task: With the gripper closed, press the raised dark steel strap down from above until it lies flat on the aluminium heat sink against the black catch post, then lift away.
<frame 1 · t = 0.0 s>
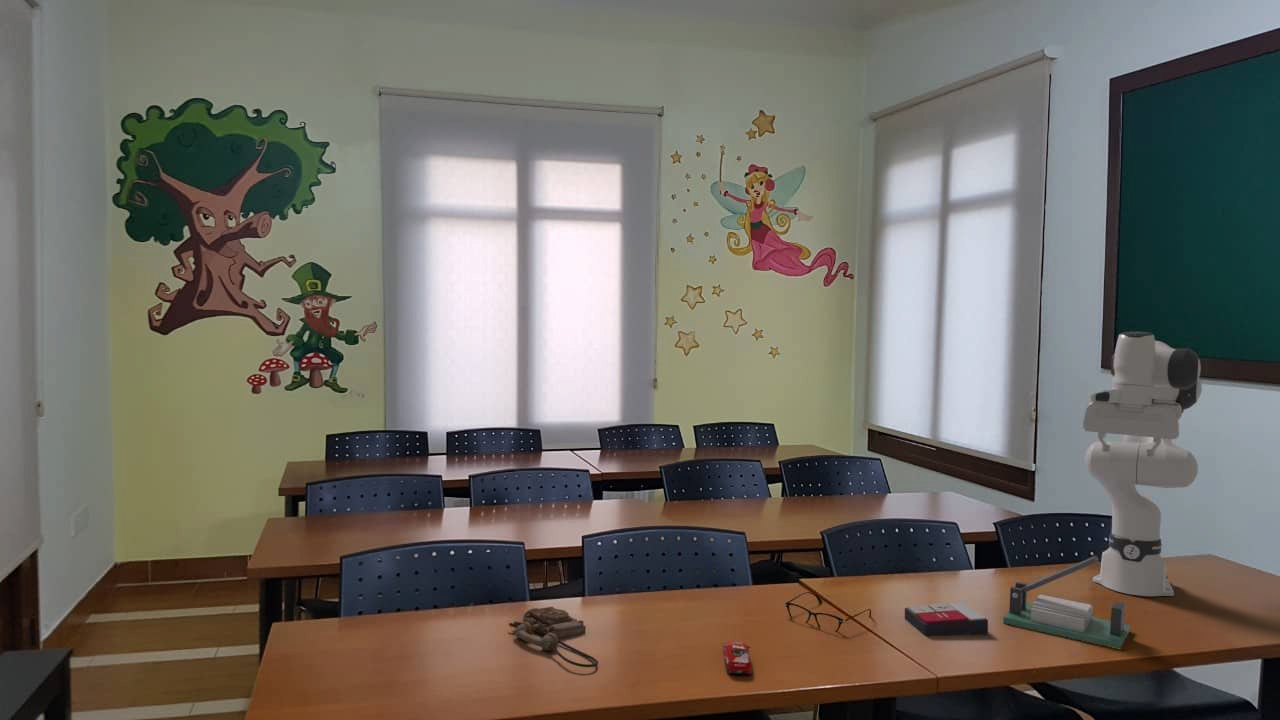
hand: (1127, 454, 205), 39 cm above the table, tool pointing down, fingers open, 8 cm apart
race car: (737, 665, 171), on the table
telephone: (556, 642, 181), on the table
eyeglasses: (829, 619, 199), on the table
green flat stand: (1065, 627, 195), on the table
black and red box: (945, 628, 194), on the table
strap: (1055, 576, 196), point 11 cm above the table, hinge at 35.0°
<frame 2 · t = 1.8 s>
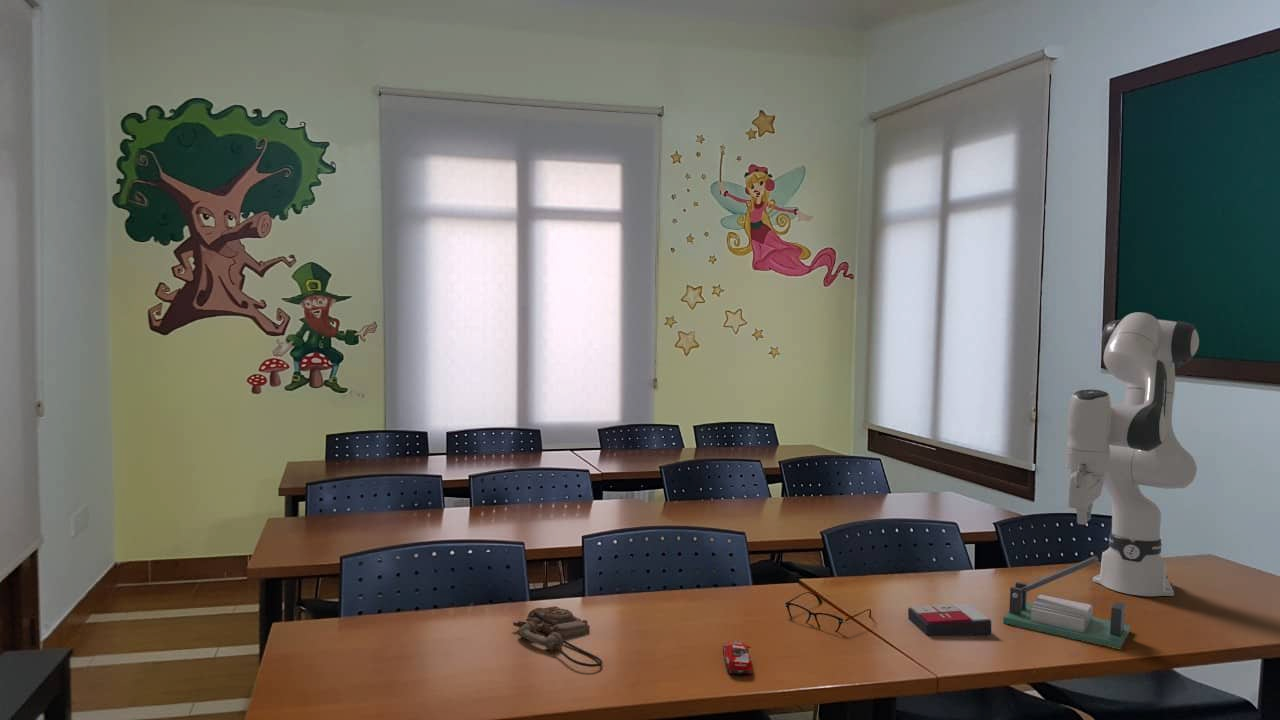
hand: (1083, 521, 193), 25 cm above the table, tool pointing down, fingers open, 3 cm apart
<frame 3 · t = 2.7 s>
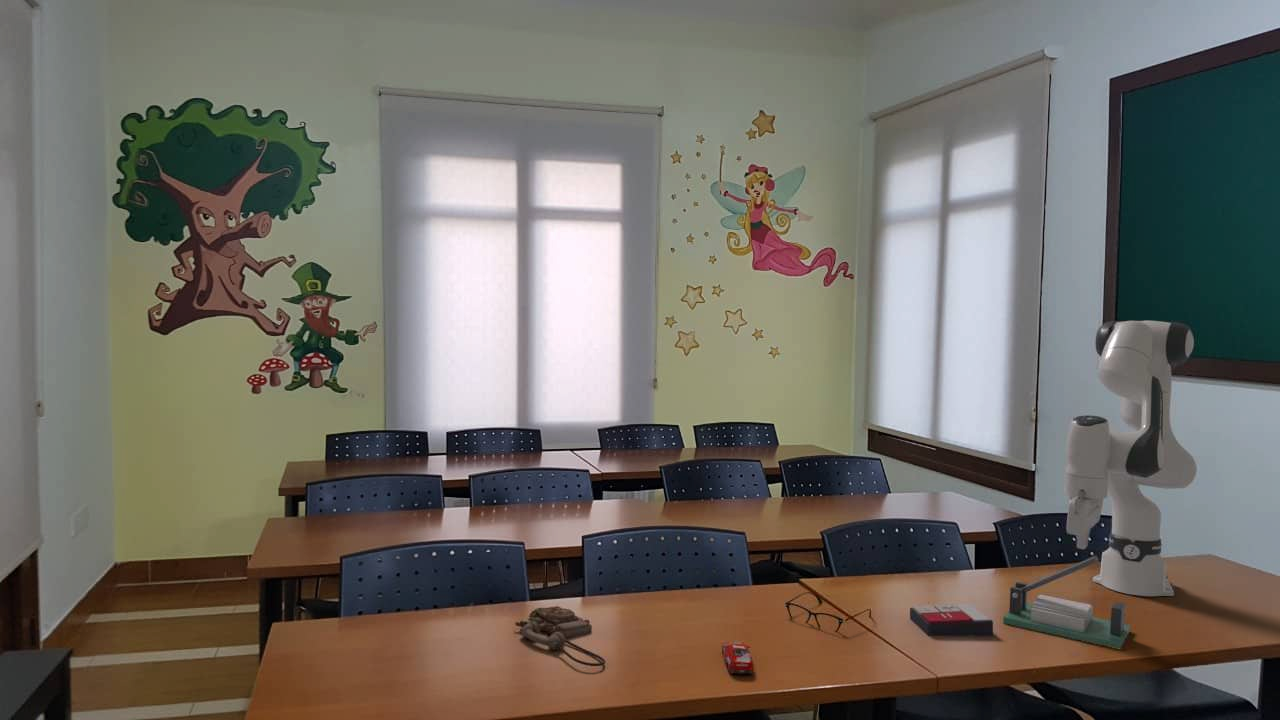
hand: (1082, 547, 193), 19 cm above the table, tool pointing down, fingers closed
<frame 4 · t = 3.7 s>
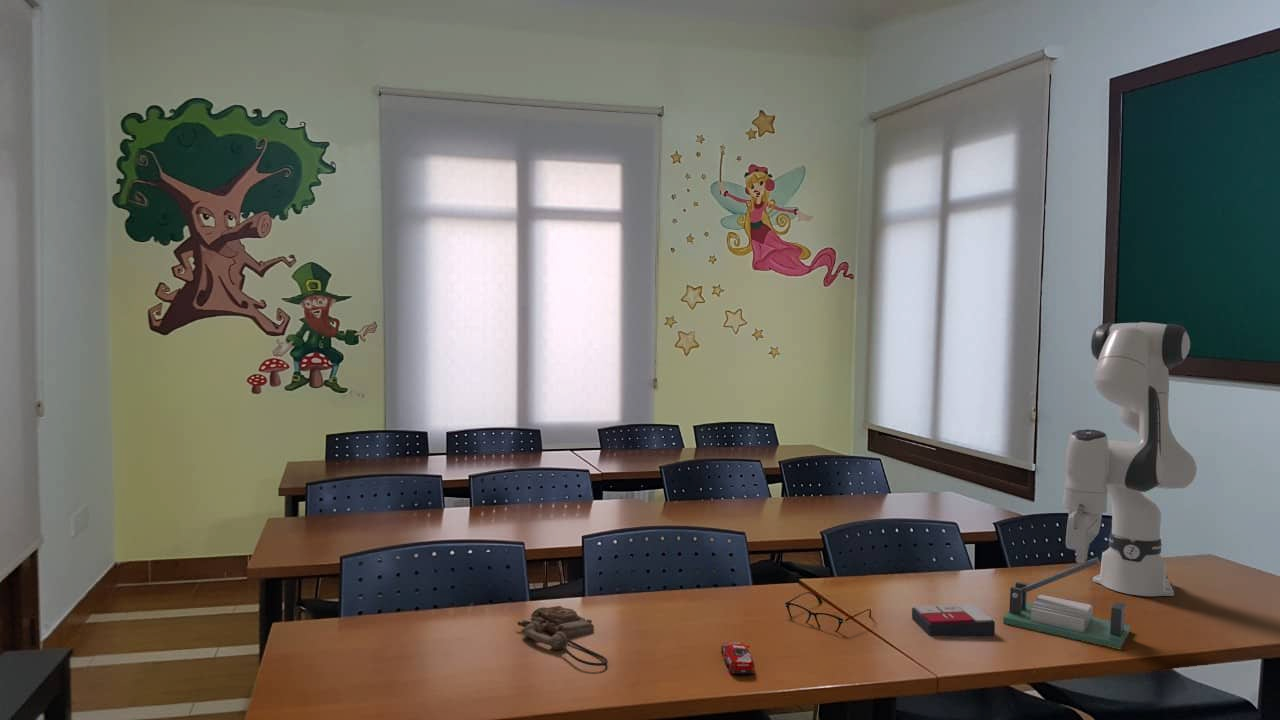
hand: (1081, 561, 193), 16 cm above the table, tool pointing down, fingers closed, pressing on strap
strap: (1056, 577, 196), point 11 cm above the table, hinge at 33.8°, touching gripper
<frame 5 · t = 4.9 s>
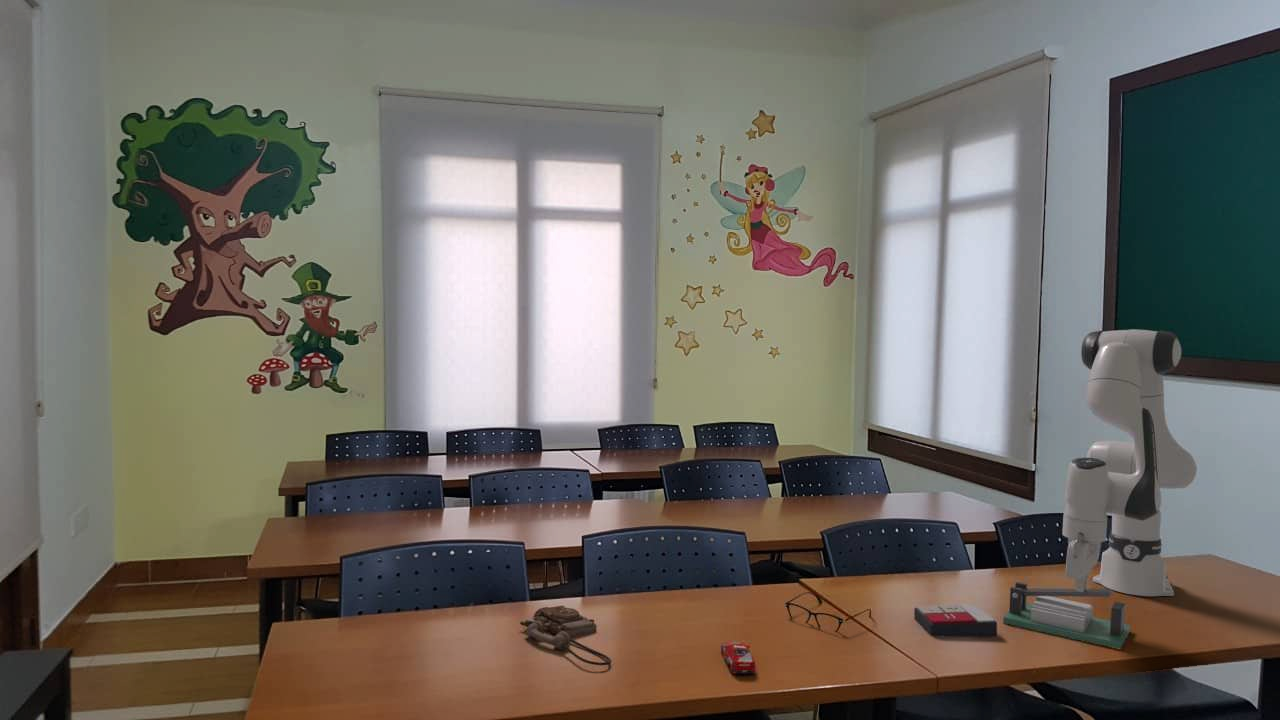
hand: (1080, 590, 193), 9 cm above the table, tool pointing down, fingers closed, pressing on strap
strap: (1061, 592, 196), point 8 cm above the table, hinge at 11.8°, touching gripper
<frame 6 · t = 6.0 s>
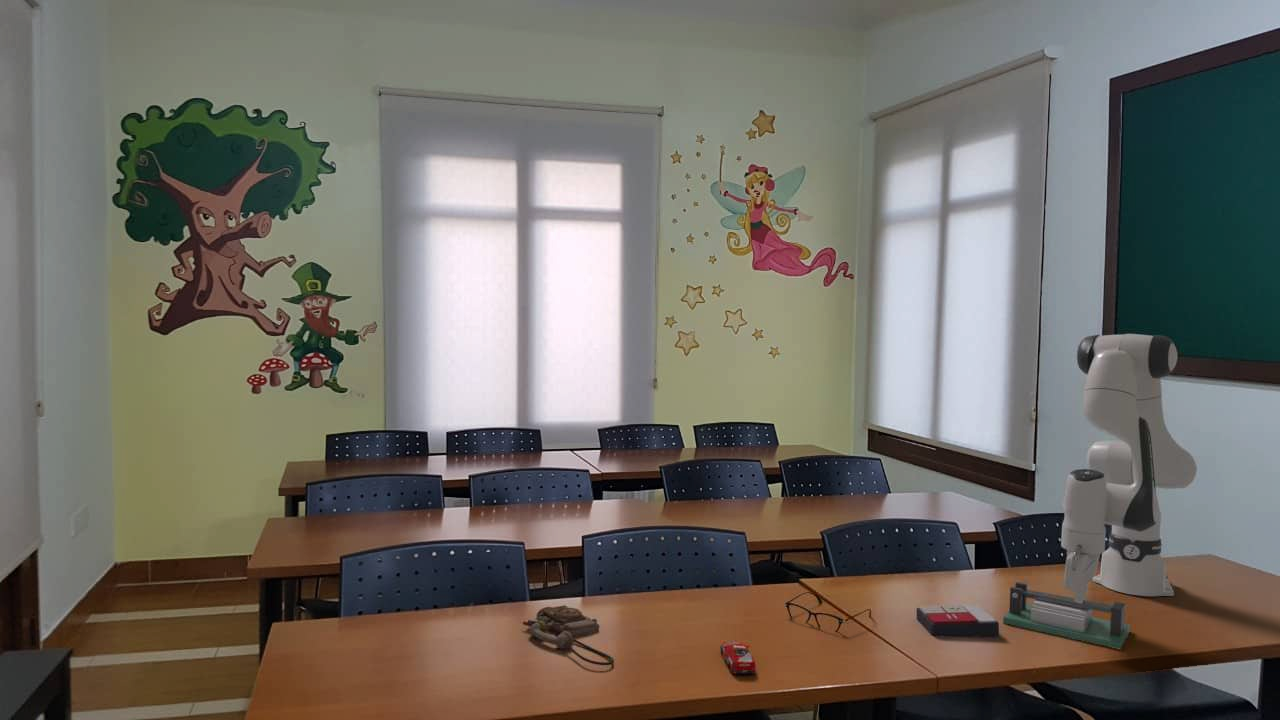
hand: (1079, 601, 193), 7 cm above the table, tool pointing down, fingers closed, pressing on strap
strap: (1062, 600, 196), point 6 cm above the table, hinge at 1.2°, touching gripper
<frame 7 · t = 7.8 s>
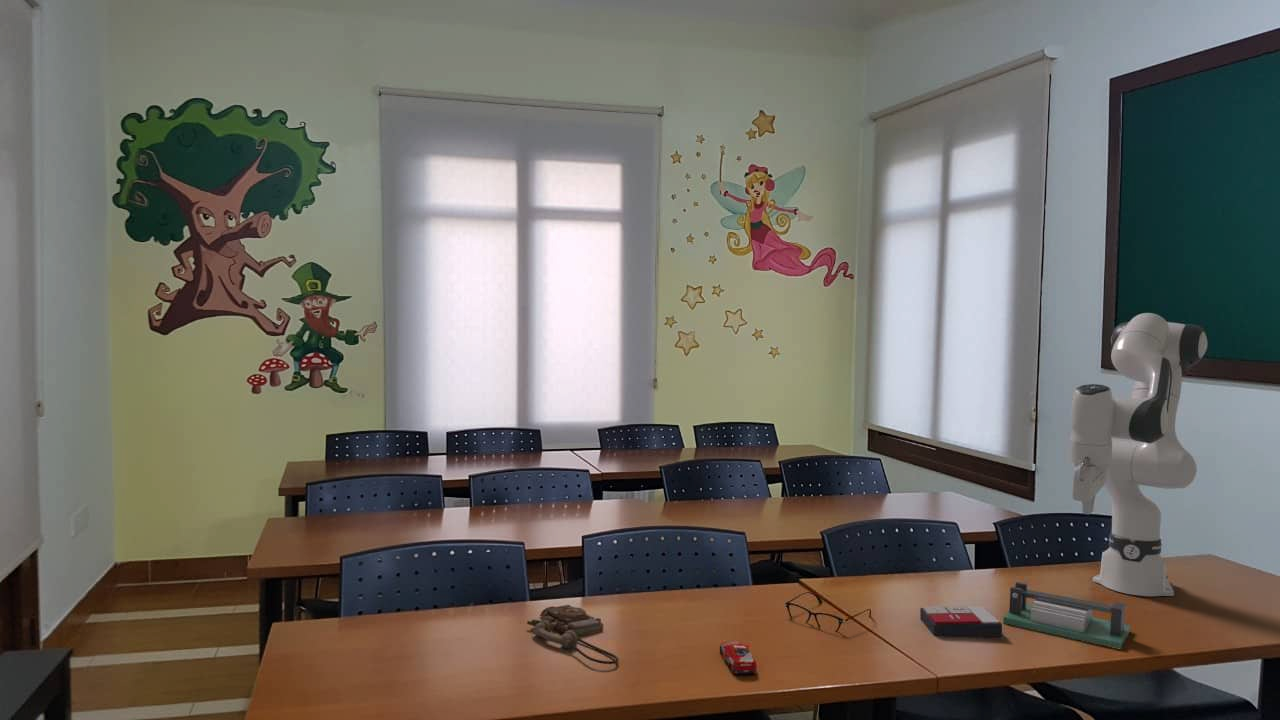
hand: (1087, 512, 198), 26 cm above the table, tool pointing down, fingers closed
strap: (1062, 600, 196), point 6 cm above the table, hinge at 1.2°
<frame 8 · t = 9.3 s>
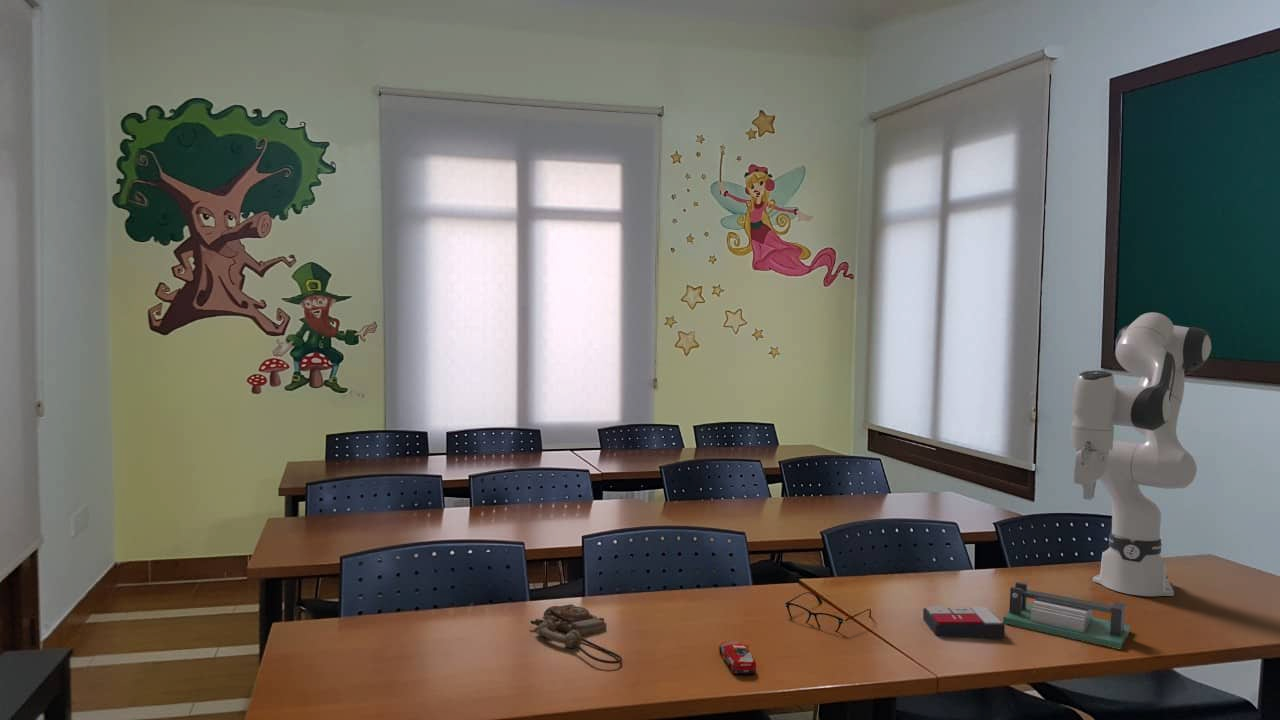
hand: (1088, 498, 199), 29 cm above the table, tool pointing down, fingers closed
at the end: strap at +1° (first picture: +35°); the gripper is holding nothing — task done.
